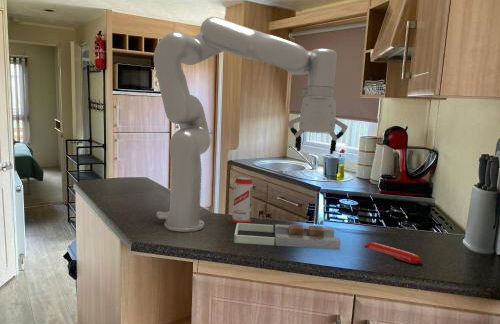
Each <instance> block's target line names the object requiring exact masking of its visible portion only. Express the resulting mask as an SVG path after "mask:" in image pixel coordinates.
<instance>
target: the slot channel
mask: <svg viewBox="0 0 500 324" xmlns="http://www.w3.org/2000/svg"><path fill="white" fill-rule="evenodd" d="M274 224H275V223H274ZM309 226H310V225H308V226H307V225H306V226H305V225H303V228H304V234H303V236H297V235H288V234H289V225H288V224H281V223H280V224H279V223H276V224H275V226H274V237H275V241H274V242H275V246H276V247H277V246H278V247H280V246H281V247H294V248H306V249H307V248H308V249H322V250H334V251H335V250H336V251H340V248H341V240H340V238H339V237H335V229H334V228H333V227H324V226H322V227H323V229H324V237H312V236H308V234H309Z"/></svg>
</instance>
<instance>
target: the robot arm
mask: <svg viewBox="0 0 500 324" xmlns="http://www.w3.org/2000/svg"><path fill="white" fill-rule="evenodd" d="M199 31H200V32H199V33H198V34H196V35H193V36H190V35H188V34H186V33H183V32H179V31H173V32H169V33H166V34H165V35H164V36H162V38H160V40H159V42H158V43H157V45H156V46H155V49H154V52H153V53H154V54H153V65H154V72H155V74H156V78H157V83H158V85H159V86H158V87H159V91H160V94H161V95H160V96H161V99H162V104H163V109H164V113H165V116H166V118H167V119H168V121H170V123H172V124H175V125H178V126H179V129H178V130H176V131H175V132H174V133H173V134H172V136H171V138H170V141H169V156H170V194H169V195H170V197H169V198H170V199H169V200H170V201H169V210H168V211H157V212H156V218H157V219H158V220H165V222H164V228H165V229H167V230H170V231H173V232H182V233H188V232H189V233H190V232H197V231H200V230H202V229H203V228H204V227H205V222H204V221H203V220H202V219H200V218H201V216H200V215H201V199H202V198H201V197H202V196H201V194H202V159H201V155H202V154H204V153H206V152H207V151H208V150H209V148H210V144H211V135H210V131H209V126H208V121H207V117H206V113H205V110H204V106H203V104H202V102H201V101H200V100H199V98H197V97H196V96H195V95H192V94H191V93H190V89H189V86H188V82H187V81H188V80H187V77H186V75H185V72H184V70H183V65H187V66H191V65H197V64H199V63H202V62H203V61H206V60H208V59H210V58H212V57H214V56H216V55H219V54H221V53H223V52H226V53H229V54H231V55H235V56H237V57H241V59H242V58H243V59H244V60H245V59H246V60H249V61H259V62H261V63H265V64H269V65H272V66H274V67H277V68H279V69H283V70H285V71H287V72H288V74H290V75H293V76H301V75H307V76H308V77H307V86H306V88H302V90H301V94H305V95H306V97H303V100H302V102H301V103H302V104H301V107H300V108H301V109H300V115H299V116H298V117H296V118H294V119H292V120H289V121H288V122H287V125H288V128H289V129H290V132H291V133H292V134H293V136H294V137H295V144H294V148H295V149H296V152H300V151H301V150H302V149H301V148H302V134H304V132H305V133H315V134H328V135H330V137H331V141H330V147H329V148H330V149H329V154H330V155H333V154H334V152H336V150H337V149H336V148H337V140H339V139H340V138H342V136H343V135H344V134H345V133H346V131H347V129H348V127H349V126H348V125H346V124H345V123H344V122H342V121H340V120H338V119H337V118H336V116H337V115H336V114H337V104H336V99H335V98H334V93H335V92H334V90H335V82H336V81H335V80H336V79H335V78H336V72H337V71H336V70H337V69H336V68H337V59H338V54H337V52H336V51H335V50H334V49H332V48H331V49H329V48H314V49H313V50H306V49H305V47H304V46H302V45H300V44H298V43H296V42H293V41H290V40H287V39H284V38H282V37H279V36H275V35H272V34H268V33H264V32H262V31H260V30H256V29H254V28H250V27H247V26H244V25H241V24H238V23H236V22H232V21H230V20H227V19H224V18H222V17H218V16H210V17H207V18H206V19H205V20H203V21H202V23H201V26H200V29H199ZM182 64H183V65H182ZM295 124H298V130H297V129H296V128H295V126H294V125H295ZM336 126H338V127H340V128H341V129H340V131H339V132H337V134H336V133H335V128H336Z"/></svg>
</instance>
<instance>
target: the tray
mask: <svg viewBox="0 0 500 324" xmlns="http://www.w3.org/2000/svg"><path fill="white" fill-rule="evenodd" d="M235 225H236V227H235V231H234V234H233V243H235V244H246V245H247V244H251V245H262V246H263V245H264V246H275V242H276V241H275V236H274V237H273V236H272V237H271V236H260V235H259V236H257V235H244V234H239V231H247V232H261V233H274V230H275V226H274V224H259V223H249V224H247V223H237V224H235Z"/></svg>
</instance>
